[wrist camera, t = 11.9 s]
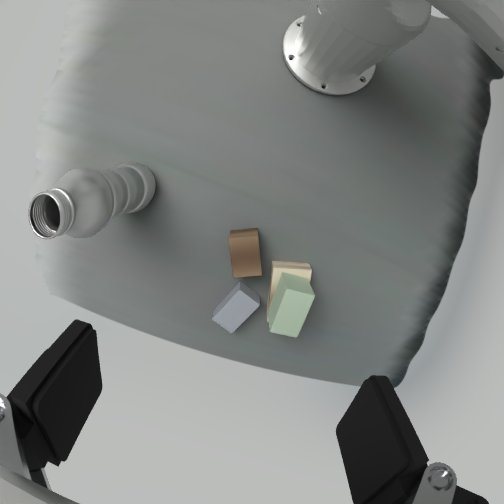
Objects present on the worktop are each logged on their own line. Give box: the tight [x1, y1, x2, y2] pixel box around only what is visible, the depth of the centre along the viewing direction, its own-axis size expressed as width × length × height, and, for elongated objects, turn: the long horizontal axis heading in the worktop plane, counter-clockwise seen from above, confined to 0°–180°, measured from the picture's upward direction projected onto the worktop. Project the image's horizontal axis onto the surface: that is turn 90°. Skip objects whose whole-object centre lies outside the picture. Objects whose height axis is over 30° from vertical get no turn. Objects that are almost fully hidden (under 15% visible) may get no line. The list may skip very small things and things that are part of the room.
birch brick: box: [266, 261, 312, 322], centre depth 40 cm, size 8×5×3 cm, turn 176°
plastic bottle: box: [29, 162, 156, 239], centre depth 27 cm, size 6×7×20 cm
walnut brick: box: [228, 228, 262, 278], centre depth 37 cm, size 5×4×4 cm
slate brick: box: [212, 281, 260, 333], centre depth 40 cm, size 6×4×3 cm, turn 140°
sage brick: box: [268, 272, 315, 338], centre depth 36 cm, size 6×4×5 cm, turn 164°
